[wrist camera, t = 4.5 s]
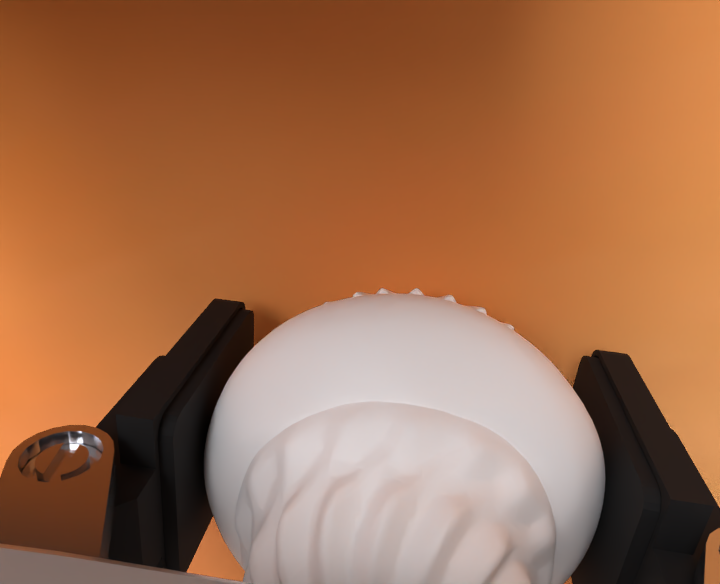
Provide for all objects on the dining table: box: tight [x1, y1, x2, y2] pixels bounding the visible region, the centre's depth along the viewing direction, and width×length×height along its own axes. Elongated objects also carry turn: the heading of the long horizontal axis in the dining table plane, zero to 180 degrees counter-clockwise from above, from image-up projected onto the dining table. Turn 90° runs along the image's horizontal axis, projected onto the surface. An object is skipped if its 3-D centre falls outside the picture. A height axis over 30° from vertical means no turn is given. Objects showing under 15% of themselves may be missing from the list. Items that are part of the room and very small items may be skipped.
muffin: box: [204, 288, 605, 584], centre depth 9 cm, size 6×6×7 cm
